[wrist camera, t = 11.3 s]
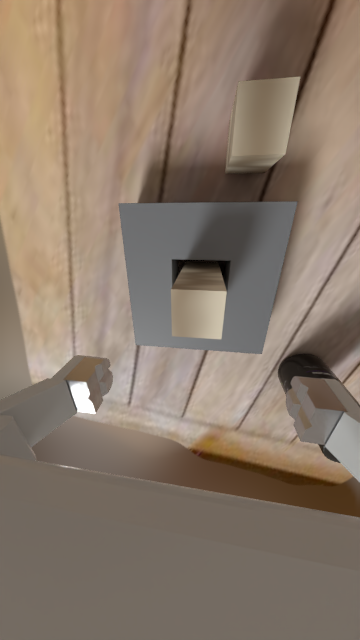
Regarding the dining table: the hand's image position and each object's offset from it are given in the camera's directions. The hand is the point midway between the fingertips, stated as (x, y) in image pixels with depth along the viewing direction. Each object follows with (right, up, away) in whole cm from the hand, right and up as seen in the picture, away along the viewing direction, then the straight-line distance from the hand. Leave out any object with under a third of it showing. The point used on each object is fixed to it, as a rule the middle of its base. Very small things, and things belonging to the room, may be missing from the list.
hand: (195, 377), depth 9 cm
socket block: (+2, +8, +17) cm, 19 cm away
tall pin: (+2, +8, +17) cm, 19 cm away
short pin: (+6, +20, +10) cm, 23 cm away
